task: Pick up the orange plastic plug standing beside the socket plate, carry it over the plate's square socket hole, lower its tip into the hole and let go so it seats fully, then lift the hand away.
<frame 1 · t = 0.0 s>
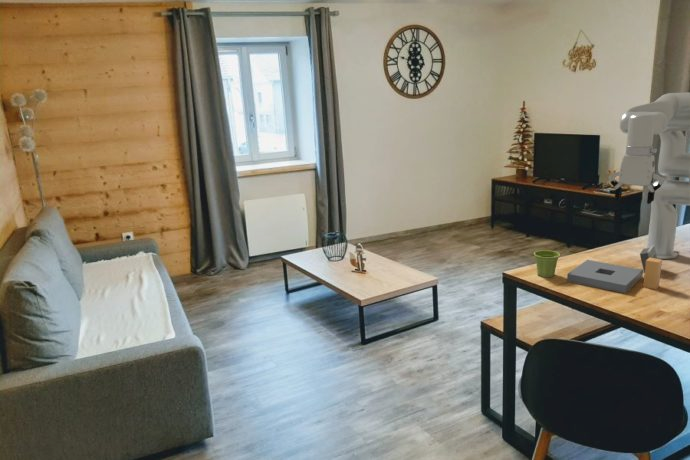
hand: (633, 201, 178), 31 cm above the table, tool pointing down, fingers open, 9 cm apart
plant pot: (545, 275, 201), on the table
plug: (651, 286, 184), on the table
electrical switch: (649, 271, 200), on the table
socket plate: (604, 279, 193), on the table
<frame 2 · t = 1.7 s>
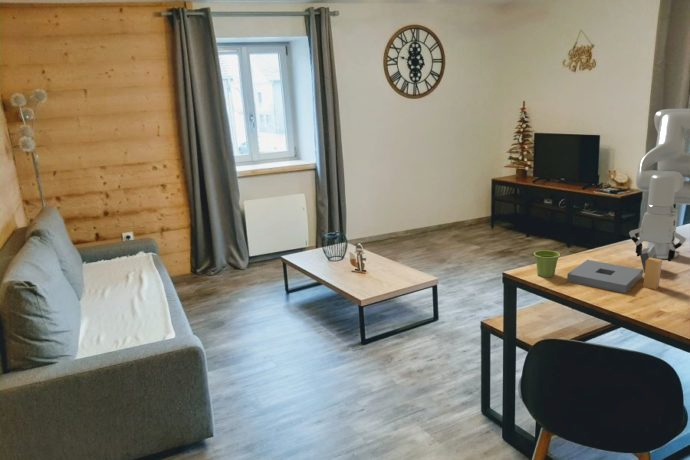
hand: (654, 257, 181), 11 cm above the table, tool pointing down, fingers open, 9 cm apart
nothing on the table moved.
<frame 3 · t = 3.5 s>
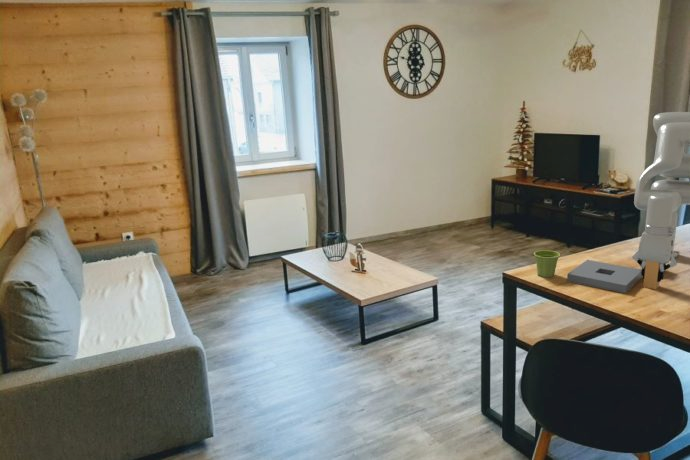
hand: (652, 279, 184), 3 cm above the table, tool pointing down, fingers closed on plug, 4 cm apart
plug: (651, 286, 184), on the table, touching gripper
everything else where it was.
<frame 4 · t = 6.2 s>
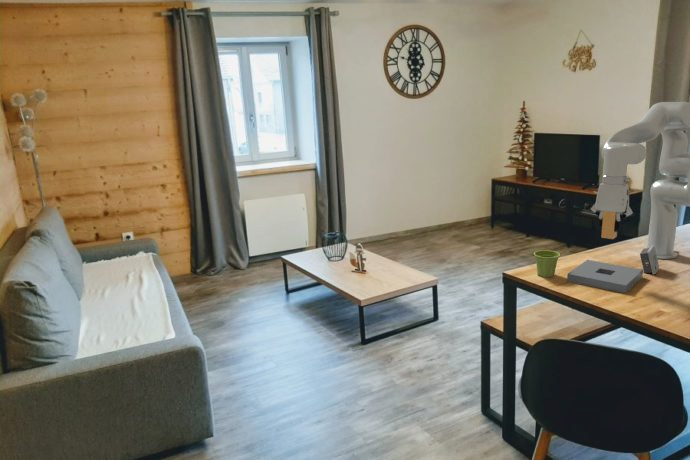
hand: (609, 229, 188), 19 cm above the table, tool pointing down, fingers closed on plug, 4 cm apart
plug: (608, 237, 189), point 16 cm above the table, touching gripper
everything else where it was.
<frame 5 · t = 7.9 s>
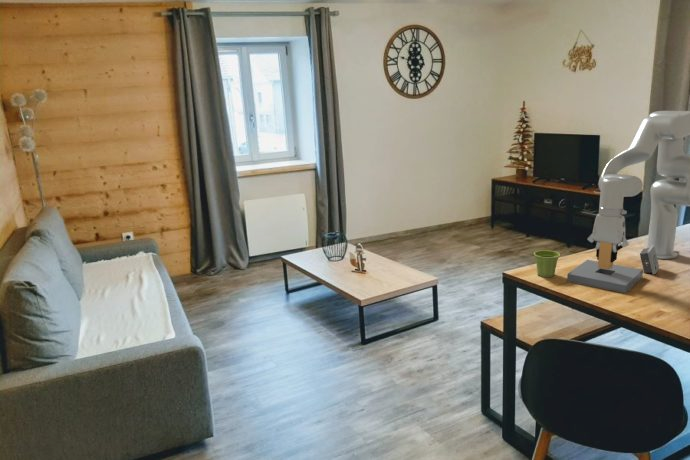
hand: (606, 259, 191), 8 cm above the table, tool pointing down, fingers closed on plug, 4 cm apart
plug: (605, 267, 192), point 5 cm above the table, touching gripper
everything else where it was.
when the fingers open (5 cm above the table, at t = 9.1 s): plug drops 2 cm, resting in socket plate.
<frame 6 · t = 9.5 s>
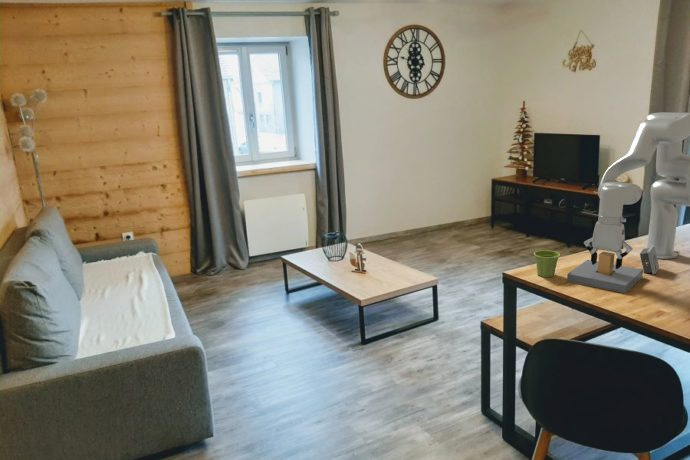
hand: (605, 265, 192), 5 cm above the table, tool pointing down, fingers open, 7 cm apart
plug: (604, 279, 193), resting in socket plate
everything else where it was.
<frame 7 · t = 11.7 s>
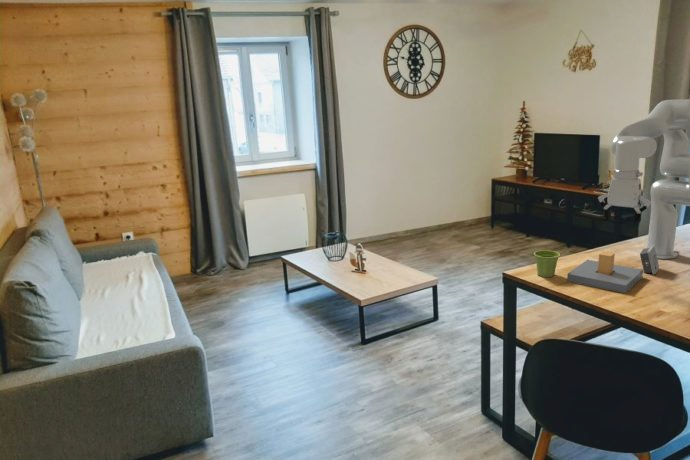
hand: (622, 221, 187), 22 cm above the table, tool pointing down, fingers open, 9 cm apart
nothing on the table moved.
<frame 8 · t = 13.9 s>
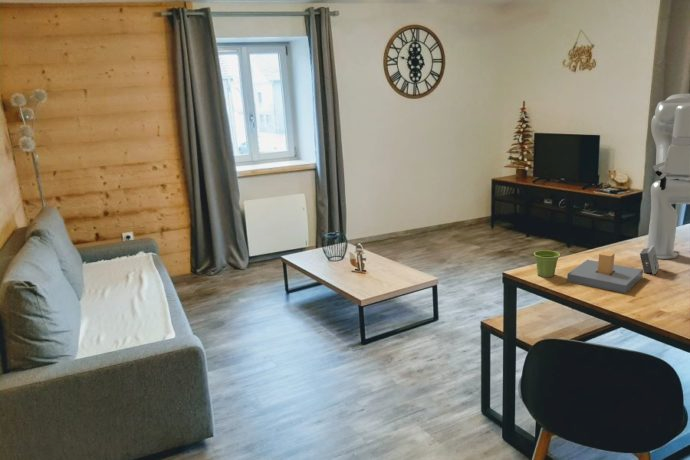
hand: (678, 190, 181), 33 cm above the table, tool pointing down, fingers open, 9 cm apart
nothing on the table moved.
at the end: plug 0.0 cm off-centre on the socket plate, point 0.0 cm above the socket plate's base; plug tilted 0°; the gripper is holding nothing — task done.
